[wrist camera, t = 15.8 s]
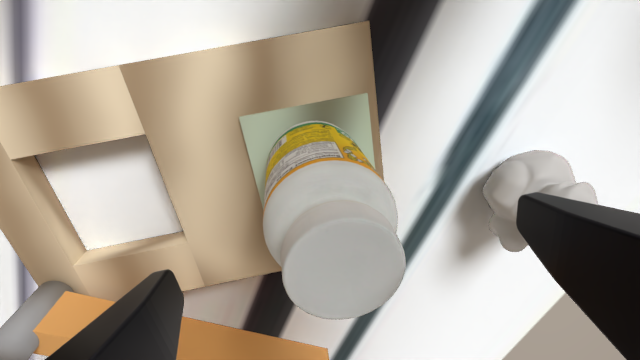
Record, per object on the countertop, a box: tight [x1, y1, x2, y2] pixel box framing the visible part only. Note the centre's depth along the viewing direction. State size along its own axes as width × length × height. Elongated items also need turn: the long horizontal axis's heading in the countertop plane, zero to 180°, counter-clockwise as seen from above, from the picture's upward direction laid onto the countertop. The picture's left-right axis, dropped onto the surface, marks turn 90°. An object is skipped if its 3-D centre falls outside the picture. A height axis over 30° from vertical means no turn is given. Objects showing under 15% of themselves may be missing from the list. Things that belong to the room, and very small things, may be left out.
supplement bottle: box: [263, 121, 406, 319], centre depth 15 cm, size 5×5×10 cm
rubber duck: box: [483, 150, 598, 252], centre depth 20 cm, size 5×7×8 cm
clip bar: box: [0, 281, 329, 360], centre depth 21 cm, size 19×2×4 cm, turn 66°
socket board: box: [0, 21, 384, 302], centre depth 20 cm, size 22×14×2 cm, turn 99°
